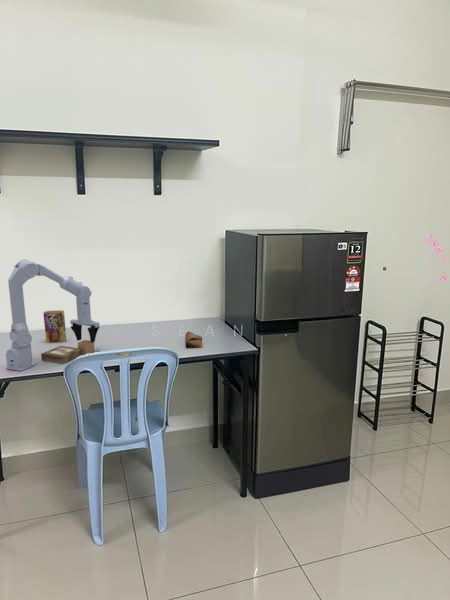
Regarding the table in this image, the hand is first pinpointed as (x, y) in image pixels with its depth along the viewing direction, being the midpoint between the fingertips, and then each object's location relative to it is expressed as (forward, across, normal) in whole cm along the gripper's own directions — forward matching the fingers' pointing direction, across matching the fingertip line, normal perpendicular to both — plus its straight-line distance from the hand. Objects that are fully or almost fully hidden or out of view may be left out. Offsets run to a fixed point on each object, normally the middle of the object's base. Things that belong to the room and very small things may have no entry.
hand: (86, 341), depth 201 cm
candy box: (+6, +25, -8) cm, 27 cm away
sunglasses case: (+6, -39, -31) cm, 50 cm away
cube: (+6, 0, 0) cm, 6 cm away
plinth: (+5, +5, +10) cm, 12 cm away
